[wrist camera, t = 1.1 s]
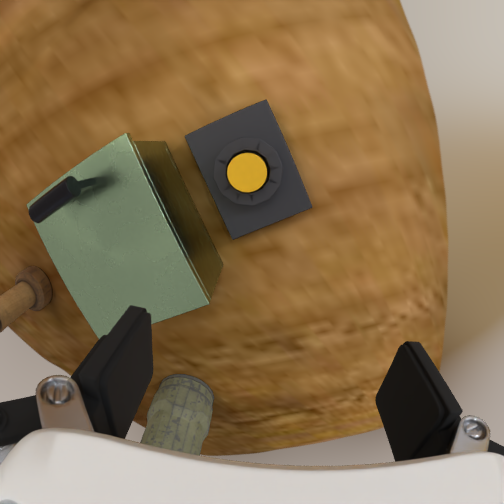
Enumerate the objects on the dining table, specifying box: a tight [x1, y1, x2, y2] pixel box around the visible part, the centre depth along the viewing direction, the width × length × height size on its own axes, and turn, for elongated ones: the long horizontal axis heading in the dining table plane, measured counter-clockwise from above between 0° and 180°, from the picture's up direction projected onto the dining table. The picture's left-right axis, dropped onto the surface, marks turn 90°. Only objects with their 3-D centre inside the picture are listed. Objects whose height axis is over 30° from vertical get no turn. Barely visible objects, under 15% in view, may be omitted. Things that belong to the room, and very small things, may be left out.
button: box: [227, 153, 267, 192], centre depth 28 cm, size 4×4×2 cm
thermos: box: [140, 374, 214, 456], centre depth 27 cm, size 9×12×35 cm
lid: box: [27, 133, 211, 339], centre depth 24 cm, size 16×14×5 cm
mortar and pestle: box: [0, 266, 52, 332], centre depth 30 cm, size 7×6×18 cm
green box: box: [133, 141, 223, 299], centre depth 31 cm, size 16×14×9 cm
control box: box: [185, 100, 312, 239], centre depth 31 cm, size 12×9×4 cm
